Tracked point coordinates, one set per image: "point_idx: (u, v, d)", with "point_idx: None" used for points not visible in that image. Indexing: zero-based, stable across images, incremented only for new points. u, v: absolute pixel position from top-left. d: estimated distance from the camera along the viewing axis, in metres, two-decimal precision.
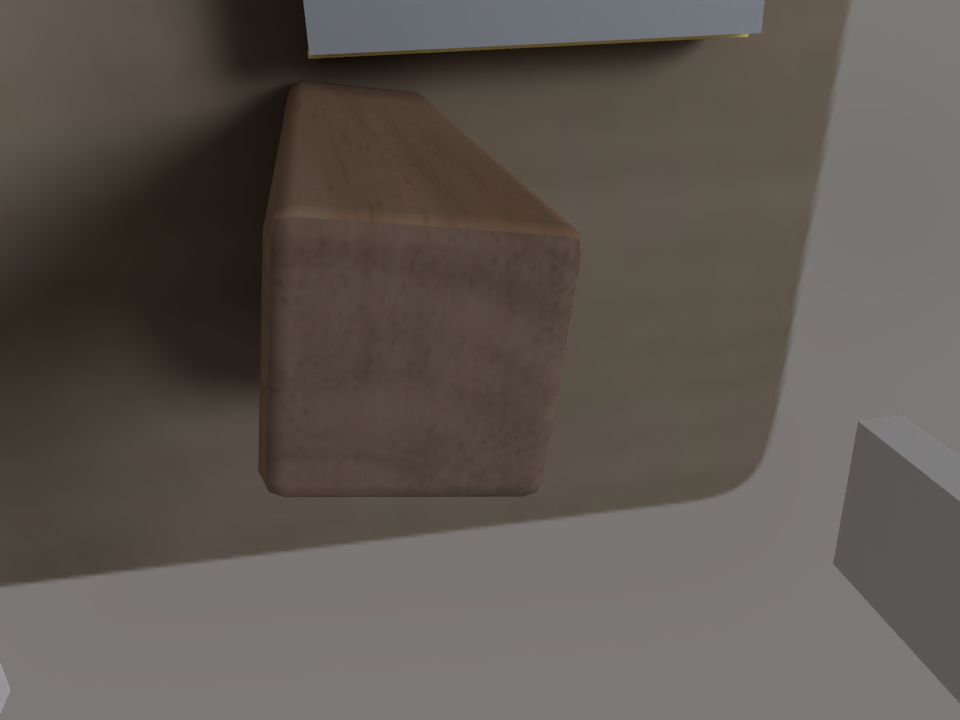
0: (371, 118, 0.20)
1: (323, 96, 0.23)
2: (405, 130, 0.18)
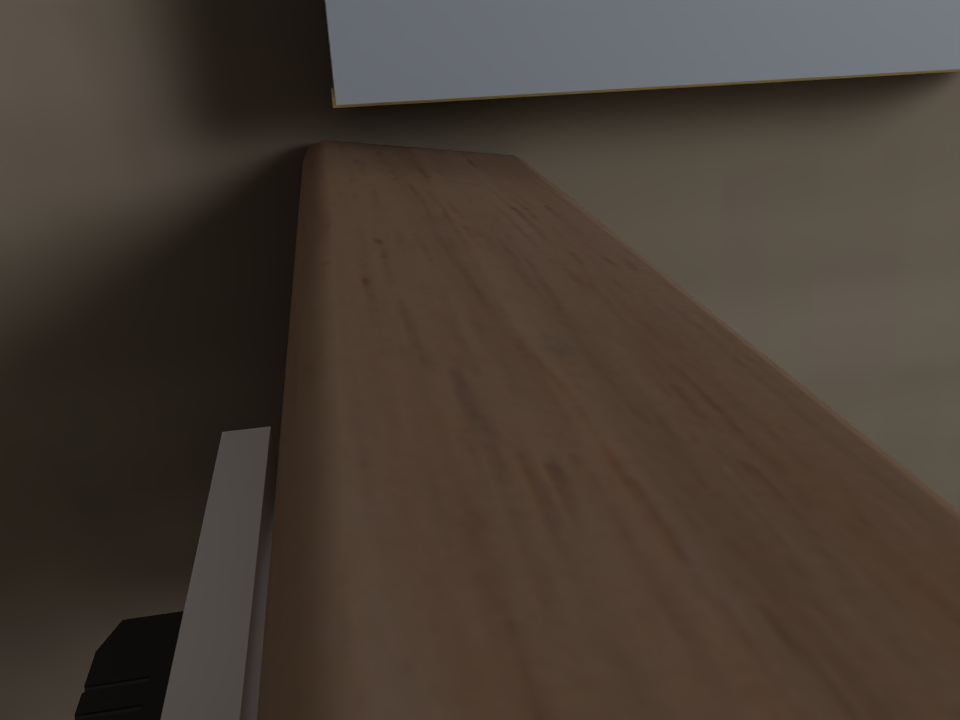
0: (486, 267, 0.09)
1: (369, 187, 0.12)
2: (583, 317, 0.08)
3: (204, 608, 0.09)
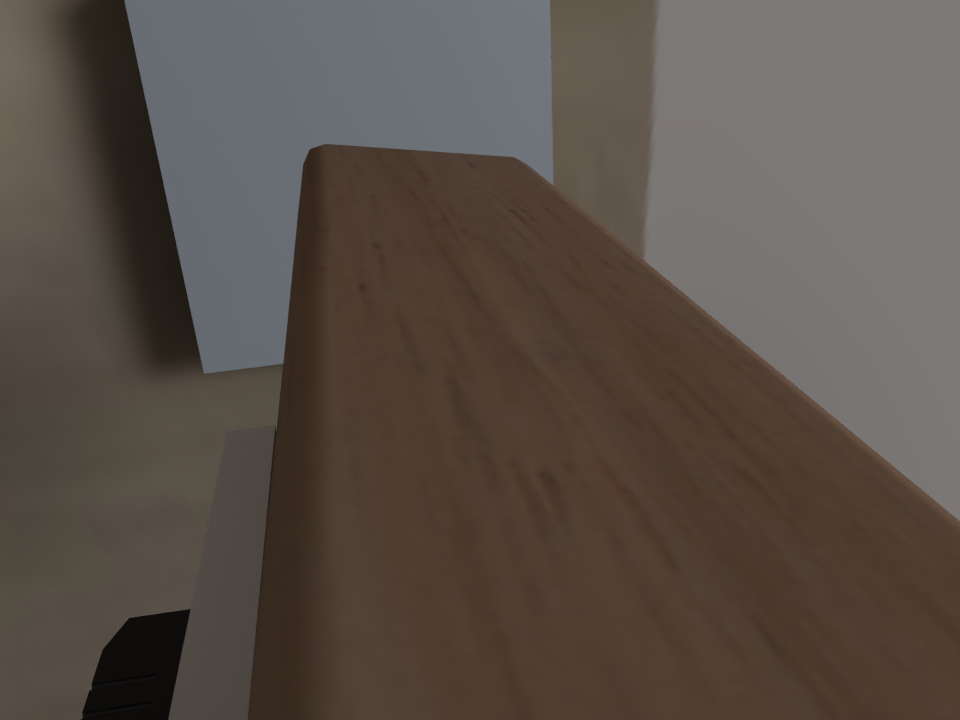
0: (484, 271, 0.09)
1: (368, 191, 0.12)
2: (580, 322, 0.08)
3: (210, 606, 0.09)
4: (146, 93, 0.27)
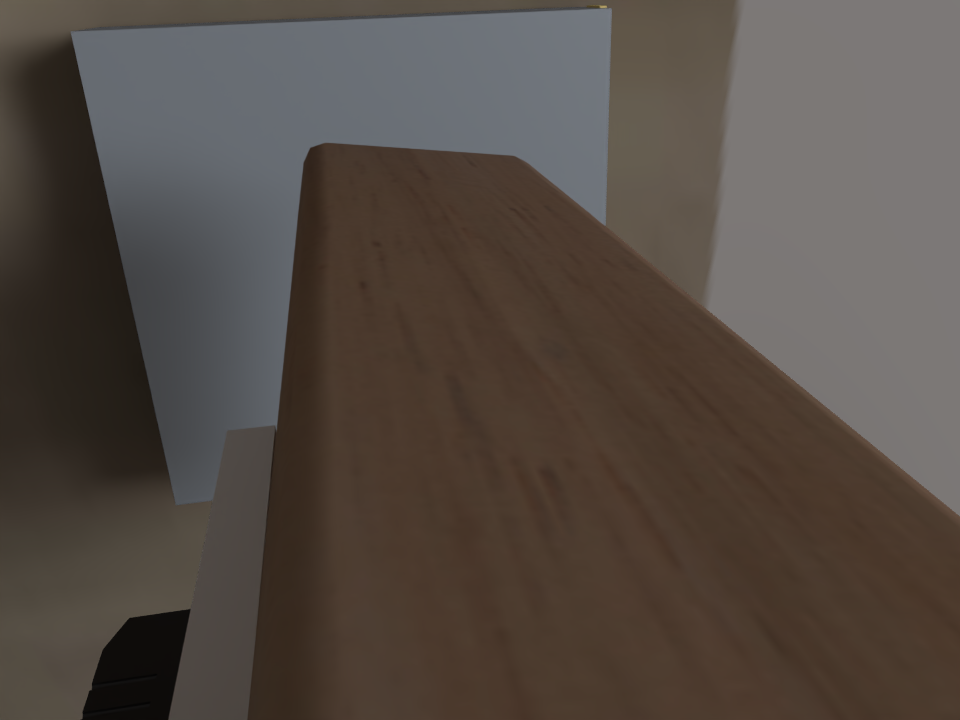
0: (484, 269, 0.09)
1: (368, 190, 0.12)
2: (581, 320, 0.08)
3: (211, 606, 0.09)
4: (106, 179, 0.22)
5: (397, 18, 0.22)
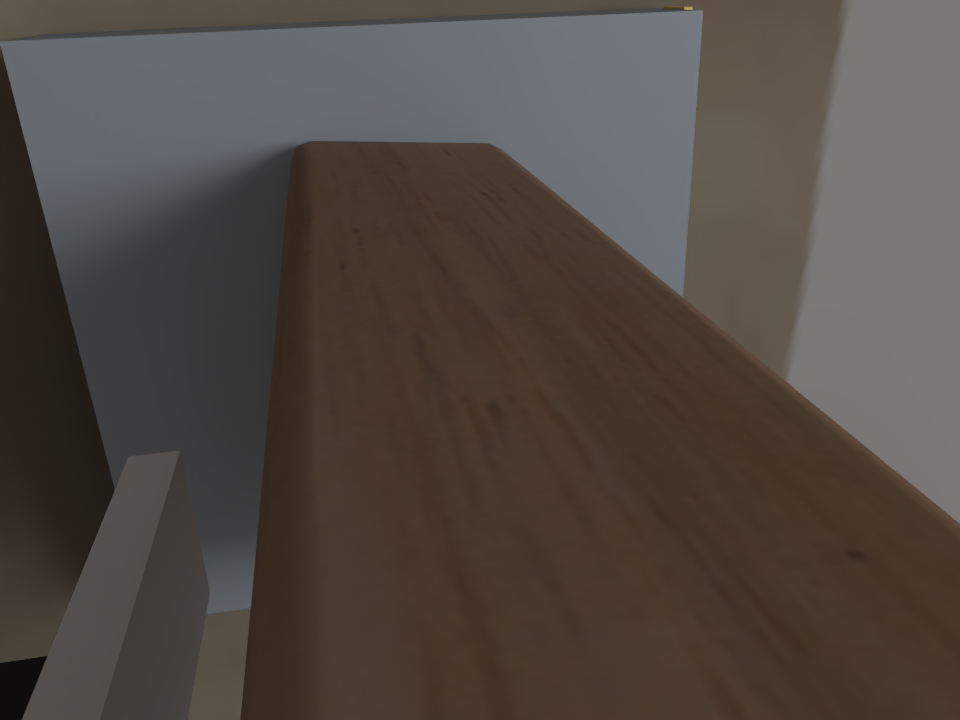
0: (452, 247, 0.10)
1: (350, 182, 0.13)
2: (535, 286, 0.09)
3: (68, 656, 0.09)
4: (52, 232, 0.17)
5: (429, 23, 0.17)
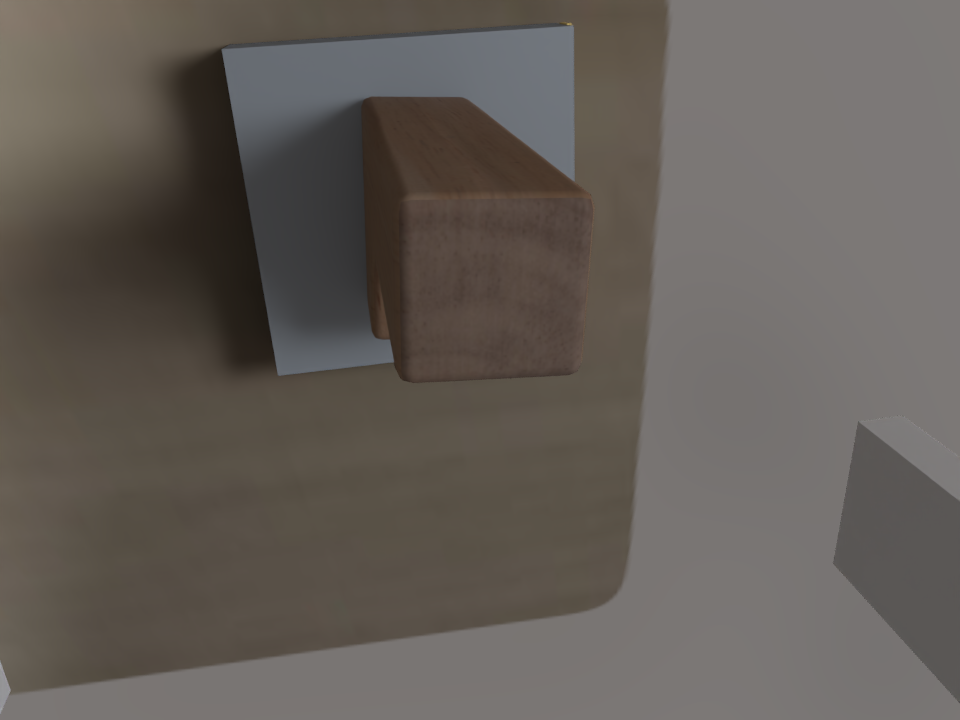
0: (435, 125, 0.26)
1: (393, 109, 0.29)
2: (463, 132, 0.25)
3: None
4: (240, 145, 0.33)
5: (430, 35, 0.33)
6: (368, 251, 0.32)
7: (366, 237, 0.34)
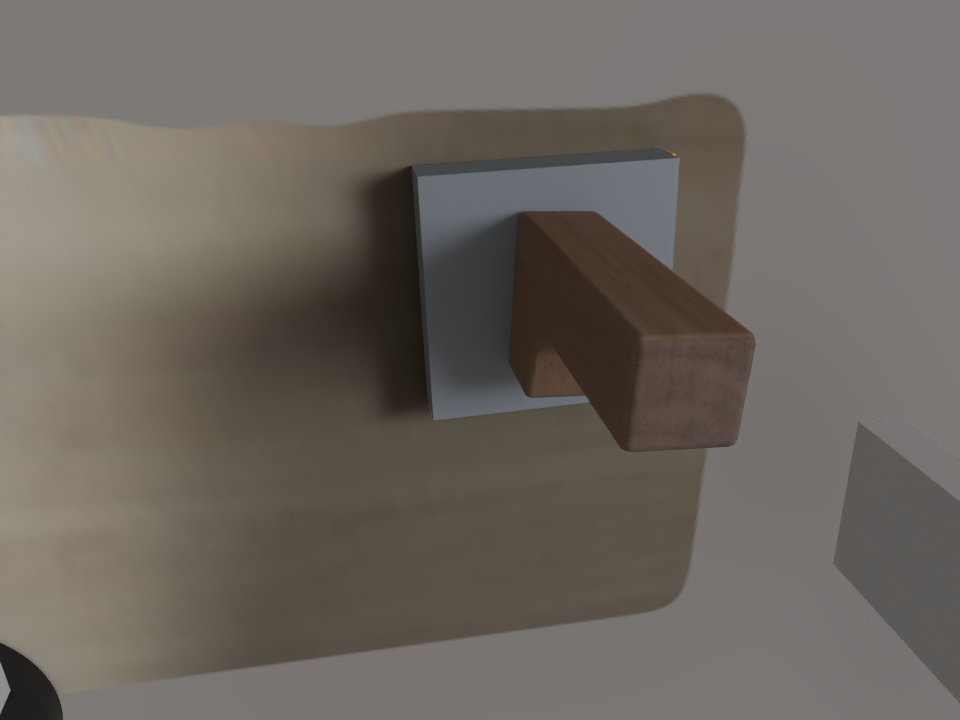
0: (603, 253, 0.36)
1: (557, 231, 0.39)
2: (629, 262, 0.35)
3: None
4: (423, 247, 0.43)
5: (572, 165, 0.43)
6: (524, 331, 0.42)
7: (517, 317, 0.44)
